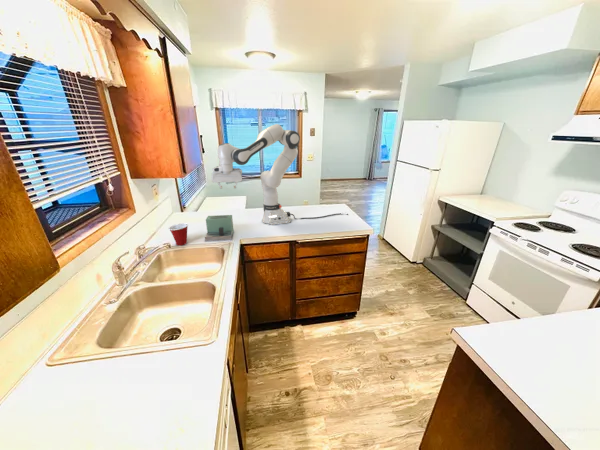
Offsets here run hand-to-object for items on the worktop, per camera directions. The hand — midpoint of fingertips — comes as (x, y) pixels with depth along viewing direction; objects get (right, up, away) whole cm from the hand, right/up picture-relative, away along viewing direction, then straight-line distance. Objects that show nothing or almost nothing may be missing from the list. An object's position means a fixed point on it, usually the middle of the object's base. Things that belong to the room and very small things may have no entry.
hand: (228, 188), depth 167 cm
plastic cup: (-24, -38, -18) cm, 48 cm away
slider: (-1, -32, -11) cm, 33 cm away
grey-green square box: (-4, -33, -6) cm, 34 cm away
